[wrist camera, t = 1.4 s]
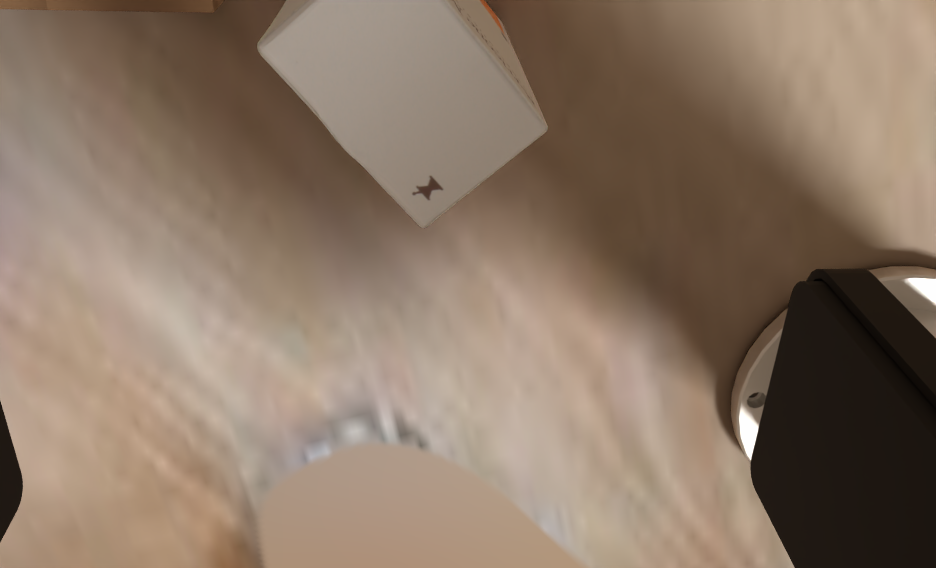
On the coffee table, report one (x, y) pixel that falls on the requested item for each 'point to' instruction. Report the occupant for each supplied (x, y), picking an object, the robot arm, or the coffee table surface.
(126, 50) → the coffee table surface
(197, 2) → the socket block
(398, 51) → the skincare box
